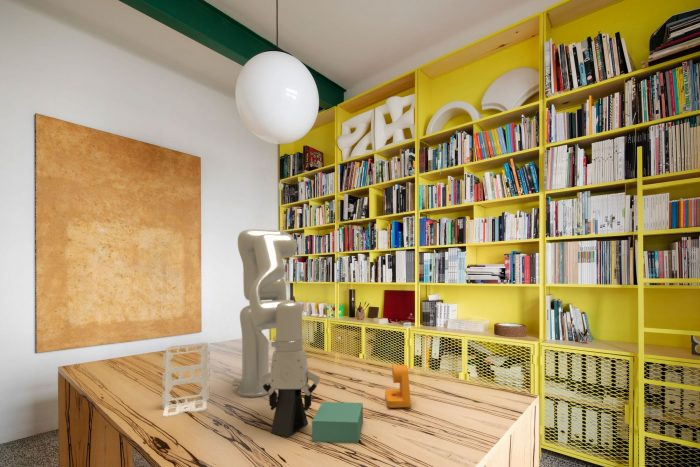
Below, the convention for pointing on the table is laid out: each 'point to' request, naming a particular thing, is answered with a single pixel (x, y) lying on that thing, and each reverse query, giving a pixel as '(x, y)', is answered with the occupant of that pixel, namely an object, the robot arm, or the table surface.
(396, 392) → the bracket
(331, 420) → the green block
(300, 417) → the phone stand
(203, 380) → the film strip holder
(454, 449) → the table surface
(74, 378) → the table surface
